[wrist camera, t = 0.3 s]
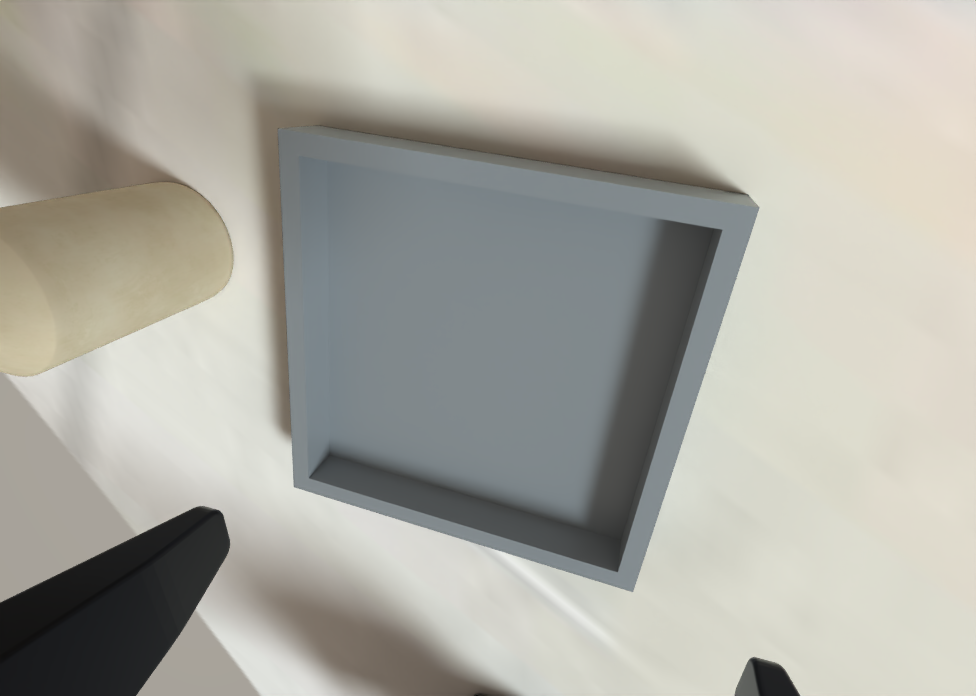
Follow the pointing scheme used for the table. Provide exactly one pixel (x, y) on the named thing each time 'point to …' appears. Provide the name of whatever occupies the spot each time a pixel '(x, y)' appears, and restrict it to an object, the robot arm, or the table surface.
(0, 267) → the candle
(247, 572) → the table surface
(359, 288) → the tray
